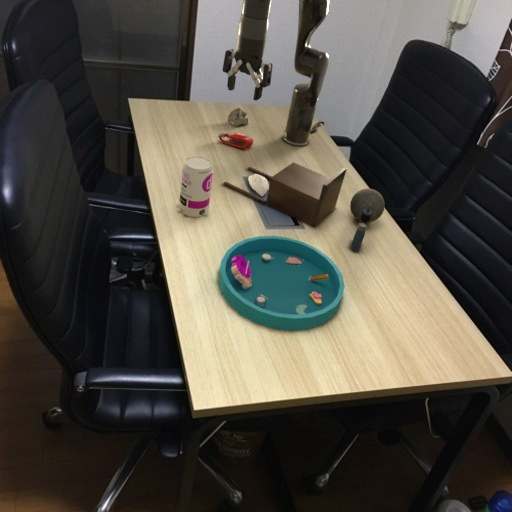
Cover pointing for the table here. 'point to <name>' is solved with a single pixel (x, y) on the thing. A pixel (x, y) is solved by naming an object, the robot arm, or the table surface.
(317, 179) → the box with long handles
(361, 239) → the vaping device
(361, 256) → the table surface
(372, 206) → the decorative ball
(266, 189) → the pincushion
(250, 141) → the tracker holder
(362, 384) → the table surface
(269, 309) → the round teal tray
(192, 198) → the supplement can
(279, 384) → the table surface
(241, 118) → the grey brown rock
